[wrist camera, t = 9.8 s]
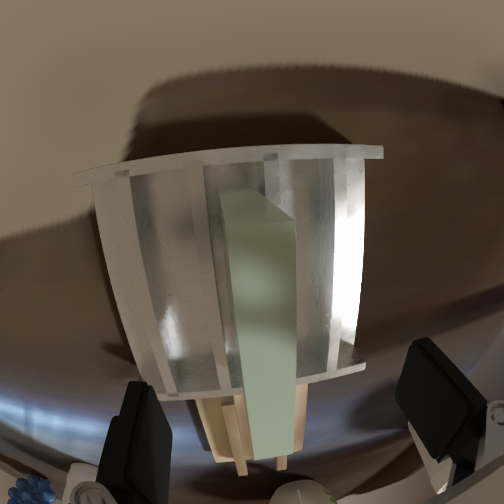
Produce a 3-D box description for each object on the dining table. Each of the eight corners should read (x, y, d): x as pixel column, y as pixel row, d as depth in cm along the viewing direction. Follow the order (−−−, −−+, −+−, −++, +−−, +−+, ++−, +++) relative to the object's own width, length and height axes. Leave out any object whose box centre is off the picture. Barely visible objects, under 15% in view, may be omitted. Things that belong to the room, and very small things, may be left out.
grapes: (29, 480, 30) (17, 521, 19) (10, 462, 28) (-5, 505, 16) (71, 492, 31) (61, 539, 20) (52, 475, 29) (39, 526, 18)
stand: (304, 356, 25) (317, 386, 21) (299, 440, 29) (307, 466, 25) (190, 371, 24) (189, 404, 20) (215, 452, 28) (217, 479, 24)
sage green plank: (250, 185, 18) (295, 220, 8) (262, 346, 22) (292, 453, 12) (217, 188, 18) (225, 227, 8) (236, 350, 22) (254, 460, 12)
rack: (353, 144, 19) (383, 144, 15) (345, 343, 25) (364, 370, 21) (98, 167, 17) (73, 171, 14) (145, 369, 23) (138, 402, 19)
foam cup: (398, 414, 31) (443, 482, 19) (451, 379, 31) (501, 436, 19) (399, 441, 34) (433, 499, 22) (445, 412, 34) (484, 462, 22)
